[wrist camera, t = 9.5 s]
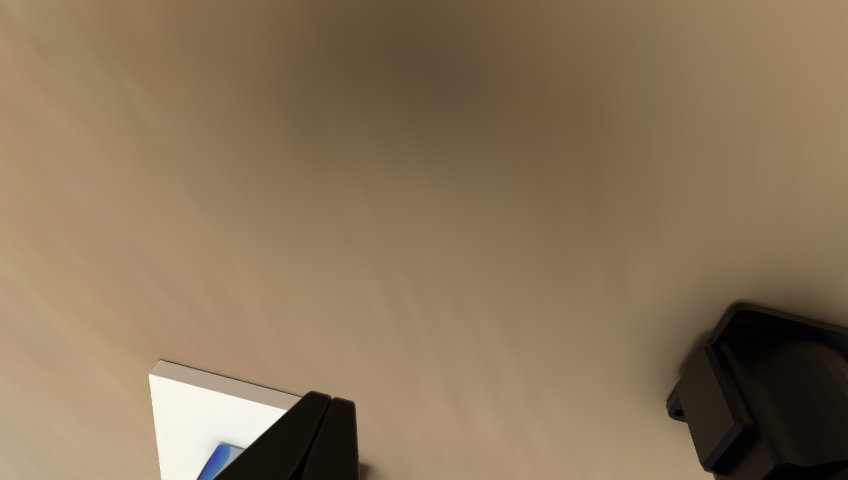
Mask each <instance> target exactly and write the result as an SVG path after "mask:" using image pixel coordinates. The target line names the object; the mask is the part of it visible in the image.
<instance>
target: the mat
mask: <svg viewBox="0 0 848 480" xmlns="http://www.w3.org/2000/svg"><path fill="white" fill-rule="evenodd" d="M149 380H150V388H151V396H152V405H153V413H154V421H155V429H156V437H157V445H158V454H159V462H160V470H161V478H162V480H196V479H197V477H198V475H199V474H200V472H201V470H202V469H203V467H204V465H205V464H206V462H207V461H208V459H209V458H210V456H211V455H212V453H213V452H214V451H215V449H216V448H217V446H218V445H221V444H222V445H227V446H231V447H235V448H239V449H243V450H245V449H246V448H247V447H248V446H249V445H251V444H252V443H253V442H254V441H255V440H256V439H257V438H258V437H259V436H260V435H262V434H263V433H264V432H265V431H266V430H267V429H268V428H269V427H270V426H271V425H273V424H274V423H275V422H276V421H277V420H278V419H279V418H280V417H281V416H282V415H283V414H285V413H286V412H287V411H288V410H289V409H290V408H291V407H292V406H293V405H294V404H296V403H297V402H298V401H299V400H300V399H301V398H302V397H298V396H294V395H291V394H287V393H283V392H279V391H276V390H272V389H268V388H264V387H260V386H257V385H253V384H249V383H245V382H242V381H238V380H234V379H230V378H226V377H223V376H219V375H215V374H211V373H208V372H204V371H200V370H196V369H192V368H189V367H185V366H181V365H177V364H174V363H170V362H166V361H162V360H159V362H158V363H157V364H156V365H155V367H154V368H153V369H152V370H151V372H150V373H149Z"/></svg>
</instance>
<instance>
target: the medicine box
mask: <svg viewBox="0 0 848 480" xmlns="http://www.w3.org/2000/svg"><path fill="white" fill-rule="evenodd" d="M243 451H244V450H243V449H239V448H235V447H231V446H227V445H222V444H221V445H218V446H217V448H216V449H215V451H214V452H213V453H212V455H211V456H210V458H209V459H208V461H207V462H206V464H205V465H204V467H203V469H202V470H201V472H200V474H199V475H198V477H197V479H196V480H212V479H213V478H214V477H215V476H217V475H218V474H219V473H220V472H221V471H222V470H223V469H224V468H225V467H226V466H228V465H229V464H230V463H231V462H232V461H233V460H234V459H235V458H236V457H237V456H239V455H240V454H241V453H242V452H243Z"/></svg>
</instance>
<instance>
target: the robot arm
mask: <svg viewBox="0 0 848 480" xmlns="http://www.w3.org/2000/svg"><path fill="white" fill-rule="evenodd" d="M742 315H748V316H746V317H745V318H739V317H740V316H742ZM666 407H667V411H668V414H669V416H670V417H671V418H672V419H675V420H678V421H682V422H685V423H687V424H688V427H689V430H690V433H691V436H692V439H693V442H694V446H695V449H696V452H697V455H698V458H699V461H700V464H701V465H702V467H703V469H704V471H706V472H710V473H713V475H714V478H715V480H848V329H847V328H843V327H839V326H835V325H831V324H827V323H823V322H819V321H815V320H811V319H807V318H803V317H799V316H795V315H791V314H787V313H783V312H779V311H776V310H772V309H768V308H764V307H760V306H756V305H752V304H747V303H741V304H737V305H735V306H733V307H732V308H731V309H730V310H729V311H728V312H727V314H726V315H725V317H724V318H723V320H722V321H721V323H720V324H719V326H718V327H717V329H716V330H715V332H714V333H713V335H712V336H711V338H710V339H709V341H708V342H707V344H706V345H704V346H703V347H702V348H701V349H700V351H699V352H698V354H697V355H696V357H695V358H694V360H693V361H692V363H691V364H690V366H689V367H688V369H687V370H686V372H685V373H684V375H683V376H682V378H681V379H680V381H679V382H678V384H677V385H676V390H675V392H674V393H673V395H672V396H671V398H670V399H669V401H668V402H667V405H666ZM212 480H360V471H359V455H358V439H357V423H356V407H355V403H354V402H353V401H350V400H346V399H343V398H339V397H334V398H333V399H332V397H331V396H330V395H328V394H324V393H320V392H316V391H310V392H308V393H307V394H305V395H304V396H303V397H302V398H301V399H300V400H299V401H298V402H297V403H296V404H294V405H293V406H292V407H291V408H290V409H289V410H288V411H287V412H286V413H285V414H283V415H282V416H281V417H280V418H279V419H278V420H277V421H276V422H275V423H274V424H273V425H271V426H270V427H269V428H268V429H267V430H266V431H265V432H264V433H263V434H262V435H260V436H259V437H258V438H257V439H256V440H255V441H254V442H253V443H252V444H251V445H249V446H248V447H247V448H246V449H245V450H244V451H243V452H242V453H241V454H240V455H239V456H237V457H236V458H235V459H234V460H233V461H232V462H231V463H230V464H229V465H228V466H226V467H225V468H224V469H223V470H222V471H221V472H220V473H219V474H218V475H217V476H215V477H214V478H213V479H212Z"/></svg>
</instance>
